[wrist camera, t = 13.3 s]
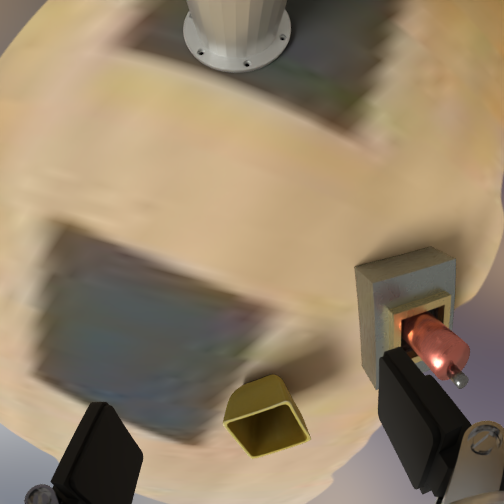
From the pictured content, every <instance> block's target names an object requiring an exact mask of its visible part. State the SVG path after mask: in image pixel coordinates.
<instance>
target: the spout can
mask: <svg viewBox="0 0 504 504" xmlns="http://www.w3.org/2000/svg"><path fill="white" fill-rule="evenodd" d="M401 337H402V338H403V339H404V340H405V341H406V342H407V343H408V345H409V346H410V347H411V348H412V349H413V350H414V351H415V352H416V353H417V355H418V356H419V357H420V358H421V359H422V360H423V361H424V362H425V364H426V365H427V366H428V367H429V368H430V369H431V370H432V372H433V373H434V374H435V375H436V376H437V377H438V378H439V379H440V380H448V379H451V380H452V382H453V383H454V384H455V385H456V386H457V387H458V388H459V389H462V388H463V387H465V386H466V384H467V383H468V377H467V376H465V374H464V373H463V372H462V371H461V370H462V369H463V368H464V366H465V365H466V363H467V361H468V359H469V355H470V348H469V346H468V345H467V344H466V343H465V342H464V341H463V340H462V339H461V338H459V337H458V336H457V335H456V334H455V333H453V332H452V331H451V330H450V329H449V328H448V327H446V326H445V325H444V324H443V323H442V322H440V321H439V320H438V319H437V318H436V317H434V316H433V315H432V314H431V313H430V312H428V311H426V312H423V313H420V314H417V315H414V316H411V317H408V318H405V319H402V320H401Z"/></svg>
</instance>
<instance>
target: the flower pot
mask: <svg viewBox="0 0 504 504" xmlns="http://www.w3.org/2000/svg"><path fill="white" fill-rule="evenodd" d="M223 425H224V427H225V428H226V429H227V431H228V432H229V433H230V434H231V436H232V437H233V438H234V439H235V440H236V442H237V443H238V444H239V445H240V446H241V448H242V449H243V450H244V451H245V452H246V454H247V455H248V456H249V457H251V458H252V459H254V458H258V457H262V456H265V455H269V454H272V453H275V452H278V451H281V450H284V449H288V448H291V447H294V446H297V445H300V444H302V443H305V442H307V441H309V440H311V437H310V434H309V432H308V429H307V427H306V424H305V422H304V419H303V417H302V415H301V413H300V411H299V409H298V407H297V406H296V404H295V402H294V401H293V399H292V397H291V395H290V393H289V391H288V390H287V388H286V386H285V384H284V382H283V380H282V379H281V378H280V377H279V376H277V375H274V374H272V375H269V376H266V377H263V378H261V379H258V380H255V381H253V382H250V383H247V384H244V385H242V386H241V387H239V388H238V389H237V390H236V391H235V392H234V393H233V394H232V395H231V397H230V399H229V401H228V404H227V408H226V412H225V416H224V420H223Z"/></svg>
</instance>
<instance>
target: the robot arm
mask: <svg viewBox="0 0 504 504" xmlns="http://www.w3.org/2000/svg"><path fill="white" fill-rule="evenodd" d="M186 1H187V4H188V7H189V12H188V13H187V16H186V18H185V21H184V27H183V32H184V38H185V41H186V44H187V46H188V48H189V50H190V52H191V53H192V54H193V55H194V57H195V58H196V59H198V60H199V61H200V62H201V63H203V64H205V65H206V66H208V67H210V68H213V69H216V70H219V71H224V72H230V73H242V72H249V71H253V70H257V69H260V68H262V67H264V66H266V65H268V64H270V63H271V62H273V61H274V60H275V59H277V58H278V57H279V56H280V55H281V53H282V52H283V51H284V49H285V48H286V46H287V44H288V42H289V39H290V34H291V21H290V18H289V15H288V13H287V11H286V10H285V6H286V3H287V0H186ZM280 39H284V40H280ZM200 53H204V54H203V55H200ZM245 64H249V67H246V66H245ZM378 415H379V419H380V421H381V423H382V425H383V427H384V429H385V431H386V433H387V435H388V436H389V439H390V441H391V443H392V445H393V447H394V449H395V451H396V453H397V455H398V457H399V459H400V461H401V463H402V465H403V467H404V469H405V471H406V473H407V475H408V477H409V479H410V481H411V483H412V485H413V487H414V488H415V489H419V488H420V490H421V492H422V494H425V493H427V492H429V491H431V490H432V492H433V494H434V496H436V497H437V499H436V501H435V504H504V428H503V427H502V426H501V425H500V424H498V423H496V422H492V421H481V422H478V423H475V424H473V425H471V424H470V422H469V421H468V420H467V418H466V417H465V416H464V415H463V413H462V412H461V411H460V410H459V408H458V407H457V406H456V404H455V403H454V402H453V401H452V399H451V398H450V397H449V396H448V394H446V392H445V391H444V390H443V389H442V387H441V386H440V385H439V383H438V382H437V381H436V380H435V379H434V378H433V377H432V376H431V375H426V376H425V375H424V374H423V373H422V372H421V370H420V369H419V368H418V367H417V365H416V364H415V363H414V362H413V360H412V359H411V358H410V357H409V356H408V354H407V353H406V352H405V351H404V350H403V348H402V347H396V348H394V349H391V350H388V351H385V352H384V354H383V357H380V358H379V396H378ZM142 462H143V453H142V451H141V449H140V448H139V447H138V445H137V444H136V442H135V441H134V439H133V438H132V436H131V435H130V433H129V432H128V430H127V429H126V427H125V426H124V424H123V423H122V421H121V419H120V418H119V416H118V415H117V413H116V411H115V410H114V408H113V407H112V406H110V405H109V404H108V403H107V402H92V403H91V404H90V405H89V407H88V409H87V410H86V412H85V414H84V416H83V418H82V420H81V422H80V424H79V426H78V427H77V429H76V431H75V433H74V435H73V437H72V439H71V441H70V443H69V445H68V447H67V449H66V451H65V453H64V455H63V457H62V459H61V461H60V463H59V465H58V467H57V469H56V471H55V473H54V476H53V478H52V480H51V483H52V484H53V485H54V486H53V488H51V487H50V486H48V485H45V484H40V485H36V486H34V487H32V488H31V489H30V490H29V491H28V492H27V494H26V496H25V500H24V502H25V504H132V500H133V496H134V492H135V488H136V484H137V480H138V477H139V473H140V469H141V465H142Z"/></svg>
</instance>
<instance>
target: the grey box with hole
mask: <svg viewBox="0 0 504 504" xmlns="http://www.w3.org/2000/svg"><path fill="white" fill-rule="evenodd" d="M354 268H355V277H356V287H357V297H358V309H359V322H360V337H361V356H362V367H363V369H364V370H365V372H366V374H367V375H368V377H369V379H370V381H371V382H372V384H373V386H374V388H375V389H376V390H377V389H379V358H380V357H383V354H384V352H385V351H388V350H391V349H394V348H396V347H402V348H403V350H404V351H405V352H406V353H407V354H408V356H409V357H410V358H411V359H412V360H413V362H414V363H415V364H416V365H417V367H418V368H419V369H420V370H421V372H422V373H423V372H426V371H428V370H431V369H430V368H429V367H428V366H427V365H426V364H425V362H424V361H423V360H422V359H421V358H420V357H419V356H418V355H417V353H416V352H415V351H414V350H413V349H412V348H411V347H410V346H409V345H408V343H407V342H406V341H405V340H404V339H403V338H402V337H401V320H402V319H405V318H408V317H411V316H414V315H417V314H420V313H423V312H426V311H428V312H430V313H431V314H432V315H433V316H434V317H436V318H437V319H438V320H439V321H440V322H442V323H443V324H444V325H445V326H446V327H448V328H449V329H450V330H451V331H452V326H453V314H454V301H455V279H456V259H455V258H453V257H451V256H449V255H447V254H445V253H443V252H441V251H439V250H437V249H435V248H433V247H428V248H424V249H421V250H417V251H413V252H410V253H406V254H402V255H398V256H395V257H391V258H387V259H383V260H379V261H375V262H372V263H368V264H364V265H360V266H356V267H354Z"/></svg>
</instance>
